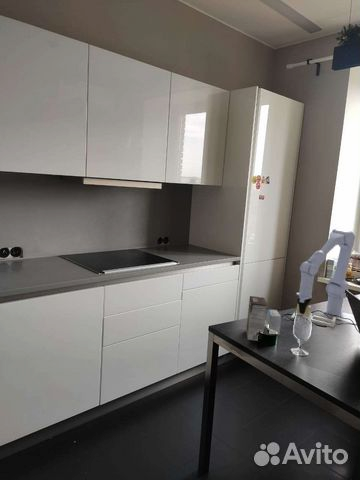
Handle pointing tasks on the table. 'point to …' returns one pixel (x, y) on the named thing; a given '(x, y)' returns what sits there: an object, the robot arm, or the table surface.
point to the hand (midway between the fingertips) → (302, 312)
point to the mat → (294, 315)
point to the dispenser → (324, 320)
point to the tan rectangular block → (307, 311)
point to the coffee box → (256, 317)
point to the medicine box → (274, 320)
